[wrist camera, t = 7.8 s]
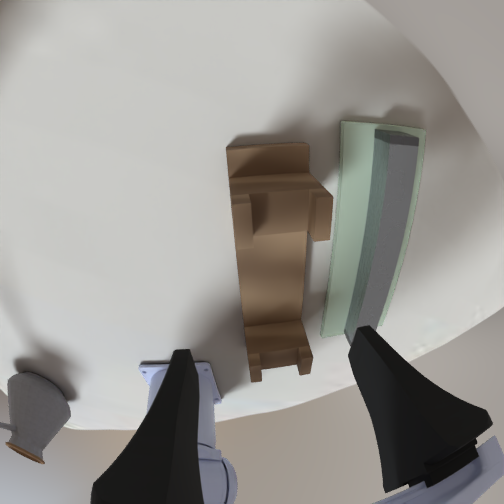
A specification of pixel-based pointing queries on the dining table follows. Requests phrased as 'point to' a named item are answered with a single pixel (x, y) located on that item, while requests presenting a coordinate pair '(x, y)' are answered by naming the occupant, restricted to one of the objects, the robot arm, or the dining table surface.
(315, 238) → the rack
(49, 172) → the dining table surface
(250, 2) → the dining table surface
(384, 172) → the rail
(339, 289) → the pad
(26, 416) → the coffee pot
